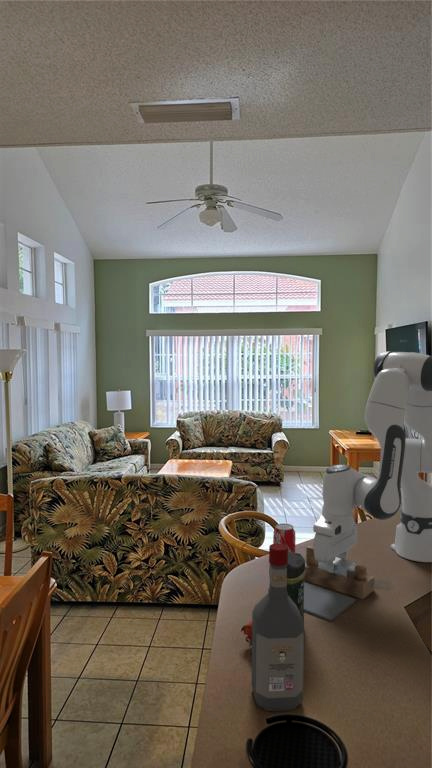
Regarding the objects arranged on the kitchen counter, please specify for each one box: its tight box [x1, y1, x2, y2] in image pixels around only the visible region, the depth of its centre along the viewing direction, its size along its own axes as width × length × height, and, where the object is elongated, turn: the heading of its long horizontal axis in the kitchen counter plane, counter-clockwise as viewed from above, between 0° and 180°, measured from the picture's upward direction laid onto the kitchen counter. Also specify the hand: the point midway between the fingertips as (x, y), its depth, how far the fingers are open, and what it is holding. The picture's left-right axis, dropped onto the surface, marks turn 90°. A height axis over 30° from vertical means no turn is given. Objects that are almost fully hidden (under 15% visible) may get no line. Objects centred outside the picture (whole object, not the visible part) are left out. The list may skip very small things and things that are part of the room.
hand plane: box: [304, 545, 375, 600], centre depth 152 cm, size 20×7×9 cm, turn 49°
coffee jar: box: [268, 551, 306, 623], centre depth 127 cm, size 10×8×19 cm
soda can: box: [272, 523, 296, 553], centre depth 168 cm, size 7×7×12 cm
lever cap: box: [318, 556, 356, 578], centre depth 152 cm, size 9×5×4 cm, turn 49°
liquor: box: [251, 543, 305, 712], centre depth 102 cm, size 9×9×30 cm
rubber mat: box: [304, 581, 357, 622], centre depth 143 cm, size 14×18×1 cm
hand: (336, 567), depth 152 cm, fingers closed on lever cap, 5 cm apart
